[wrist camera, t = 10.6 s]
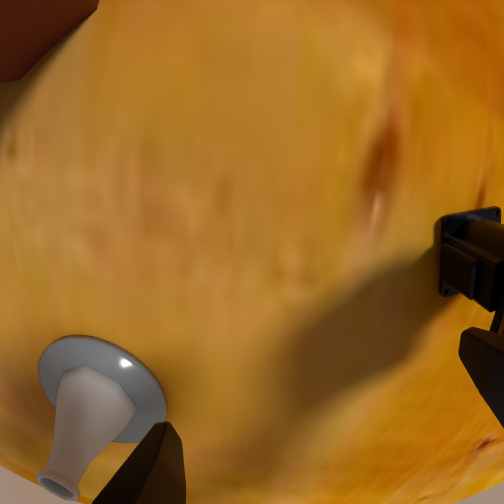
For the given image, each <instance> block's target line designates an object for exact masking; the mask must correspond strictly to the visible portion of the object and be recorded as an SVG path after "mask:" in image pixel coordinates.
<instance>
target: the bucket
mask: <svg viewBox="0 0 504 504" xmlns="http://www.w3.org/2000/svg"><path fill="white" fill-rule="evenodd" d="M98 3H99V0H0V82H4V81H15V80H20V79H21V78H22V77H23V76H24V75H25V74H26V73H27V71H28V70H29V69H30V68H31V67H32V66H33V65H34V64H35V63H36V62H37V61H38V60H39V59H40V58H41V57H42V56H43V55H44V54H45V53H46V52H47V51H48V50H49V49H50V48H52V47H53V46H54V45H55V44H56V43H57V42H58V41H59V40H60V39H61V38H63V37H64V36H65V35H66V34H67V33H68V32H69V31H71V30H72V29H73V28H74V27H75V26H76V25H78V24H79V23H80V22H81V21H83V20H84V19H85V18H86V17H88V16H89V15H90V14H91V13H93V12H94V11H95V10H97V6H98Z"/></svg>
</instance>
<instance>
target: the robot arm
mask: <svg viewBox="0 0 504 504" xmlns="http://www.w3.org/2000/svg"><path fill="white" fill-rule="evenodd" d="M448 220H449V223H448V224H447V221H448ZM445 289H446V291H445ZM444 291H445V292H444ZM439 293H440V295H441V296H443V297H448V296H452V295H455V294H458V293H461V294H463V295H464V296H465V297H467V298H468V299H469V300H474V301H475V302H477V303H478V304H479V305H481V306H482V307H483V308H485V309H486V310H487V311H488V312H493V311H495V315H494V318H493V321H492V324H491V327H490V330H489V331H487V330H483V329H480V328H476V327H470V328H468V329H466V330H464V331H463V332H462V334H461V338H460V345H459V357H460V360H461V361H462V363H463V365H464V366H465V368H466V370H467V372H468V373H469V375H470V377H471V379H472V380H473V382H474V384H475V386H476V388H477V389H478V391H479V393H480V394H481V396H482V397H483V399H484V400H485V401H486V403H487V404H488V406H489V407H490V409H491V410H492V412H493V413H494V415H495V416H496V418H497V419H498V421H499V422H500V424H501V425H502V427H503V428H504V224H501V209H500V208H499V207H496V206H493V207H487V208H481V209H476V210H470V211H465V212H459V213H453V214H448V215H445V216H444V217H443V218H442V222H441V260H440V285H439ZM92 504H186V480H185V470H184V459H183V448H182V441H181V439H180V437H179V435H178V434H177V432H176V431H175V429H174V428H173V426H172V424H171V423H170V422H167V421H165V422H157V423H155V424H154V425H153V426H152V428H151V429H150V430H149V431H148V433H147V434H146V435H145V437H144V438H143V439H142V440H141V442H140V443H139V444H138V446H137V447H136V448H135V449H134V451H133V452H132V453H131V454H130V456H129V457H128V458H127V460H126V461H125V462H124V463H123V465H122V466H121V467H120V468H119V470H118V471H117V472H116V473H115V475H114V476H113V477H112V478H111V480H110V481H109V482H108V483H107V485H106V486H105V487H104V488H103V490H102V491H101V492H100V493H99V495H98V496H97V497H96V498H95V499H94V501H93V502H92Z"/></svg>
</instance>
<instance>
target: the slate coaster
mask: <svg viewBox="0 0 504 504" xmlns="http://www.w3.org/2000/svg"><path fill="white" fill-rule="evenodd" d="M82 366H88V367H90V368H92V369H93V370H95V371H97V372H99V373H100V374H102V375H104V376H106V377H108V378H109V379H111V380H113V381H115V382H117V383H119V385H120V386H121V387H122V389H123V390H124V391H125V393H126V394H127V395H128V396H129V398H130V399H131V400H132V401H133V403H134V404H135V405H136V406H137V408H138V409H137V410H136V412H135V414H134V415H133V417H132V419H131V421H130V422H129V424H128V426H127V427H126V428H125V429H124V430H123V431H122V432H121V433H120V434H119V435H118V436H116V437H115V438H114V439H113V440H112V441H113V442H119V443H136V442H141V440H142V439H143V438H144V437H145V435H146V434H147V433H148V431H149V430H150V429H151V428H152V426H153V425H154V424H155V423H157V422H165V417H166V412H167V400H166V395H165V393H164V390H163V388H162V386H161V384H160V382H159V381H158V379H157V378H156V377H155V375H154V374H153V373H152V372H151V371H150V369H149V368H148V367H147V366H146V365H144V364H143V363H142V362H141V361H140V360H139V359H138V358H136V357H135V356H134V355H132V354H131V353H129V352H128V351H126V350H125V349H123V348H121V347H119V346H117V345H115V344H113V343H111V342H109V341H106V340H103V339H100V338H97V337H93V336H88V335H69V336H64V337H61V338H59V339H57V340H55V341H54V342H53V343H52V344H51V345H50V346H49V347H48V348H47V349H46V351H45V352H44V353H43V355H42V356H41V359H40V362H39V379H40V382H41V385H42V388H43V390H44V392H45V394H46V396H47V397H48V399H49V400H50V402H51V403H52V405H53V406H54V407H55V408H56V404H57V394H58V389H59V385H60V381H61V377H62V373H63V372H64V371H68V370H71V369H75V368H79V367H82Z"/></svg>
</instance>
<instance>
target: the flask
mask: <svg viewBox="0 0 504 504" xmlns="http://www.w3.org/2000/svg"><path fill="white" fill-rule="evenodd" d="M137 409H138V408H137V406H136V405H135V404H134V403H133V401H132V400H131V399H130V398H129V396H128V395H127V394H126V393H125V391H124V390H123V389H122V387H121V386H120V385H119V383H117V382H115V381H113V380H111V379H109V378H108V377H106V376H104V375H102V374H100V373H99V372H97V371H95V370H93V369H92V368H90V367H88V366H82V367H79V368H75V369H71V370H68V371H64V372H63V373H62V377H61V381H60V385H59V389H58V394H57V404H56V417H55V427H54V439H53V445H52V449H51V453H50V457H49V459H48V462H47V464H46V466H45V468H44V470H40V471H39V472H38V473H37V477H36V481H37V482H38V483H39V484H40V485H41V486H43V487H44V488H45V489H46V490H48V491H49V492H51V493H53V494H55V495H56V496H58V497H60V498H62V499H64V500H70V501H77V499H78V497H79V494H80V490H79V489H78V484H79V481H80V479H81V477H82V475H83V473H84V472H85V470H86V469H87V467H88V466H89V464H90V463H91V462H92V461H93V460H94V459H95V457H96V456H97V455H98V454H99V453H100V452H101V451H102V450H103V449H104V448H105V447H106V446H107V445H108V444H109V443H110V442H111V441H112V440H113V439H114V438H115V437H116V436H118V435H119V434H120V433H121V432H122V431H123V430H124V429H125V428H126V427H127V426H128V424H129V422H130V421H131V419H132V417H133V415H134V414H135V412H136V410H137Z"/></svg>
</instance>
